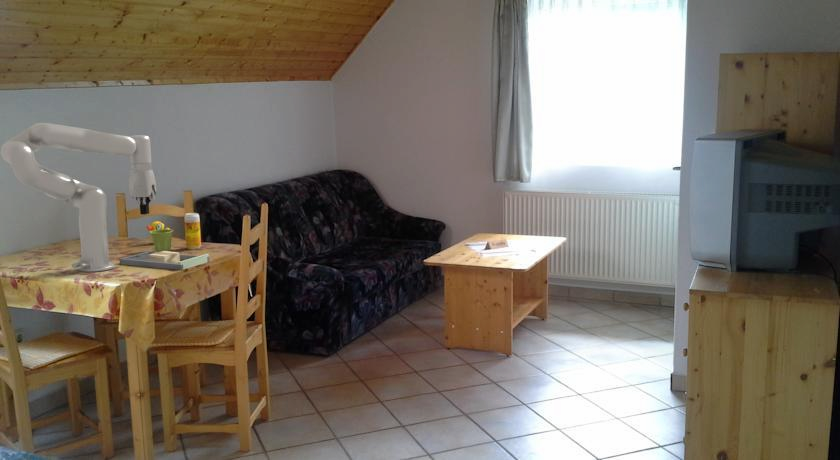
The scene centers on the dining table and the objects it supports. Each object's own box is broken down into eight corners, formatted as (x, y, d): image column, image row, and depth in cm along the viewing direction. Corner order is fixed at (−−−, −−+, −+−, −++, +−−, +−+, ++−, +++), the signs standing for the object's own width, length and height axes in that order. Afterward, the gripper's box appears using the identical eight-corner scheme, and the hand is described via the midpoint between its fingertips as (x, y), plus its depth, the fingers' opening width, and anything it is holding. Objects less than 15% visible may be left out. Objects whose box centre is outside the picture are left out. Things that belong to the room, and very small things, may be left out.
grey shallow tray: (181, 270, 287) (180, 262, 286) (119, 263, 298) (119, 256, 298) (209, 261, 301) (208, 254, 301) (149, 255, 313) (149, 248, 313)
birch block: (164, 266, 295) (164, 256, 294) (149, 264, 298) (148, 254, 298) (180, 262, 302) (179, 252, 301) (164, 260, 305) (164, 250, 305)
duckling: (151, 246, 335) (149, 223, 333) (144, 244, 338) (143, 222, 337) (174, 242, 343) (173, 220, 342) (167, 240, 347) (166, 219, 345)
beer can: (184, 249, 326) (182, 214, 323) (189, 247, 332) (187, 212, 329) (198, 249, 326) (196, 214, 323) (203, 247, 332) (201, 212, 329)
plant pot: (159, 254, 316) (158, 233, 315) (146, 251, 322) (145, 231, 321) (179, 250, 324) (177, 230, 322) (165, 248, 329) (164, 228, 328)
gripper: (119, 167, 297) (123, 214, 300) (149, 168, 291) (153, 216, 294) (133, 166, 303) (137, 211, 306) (163, 167, 297) (166, 213, 301)
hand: (144, 213), depth 300 cm, fingers closed
